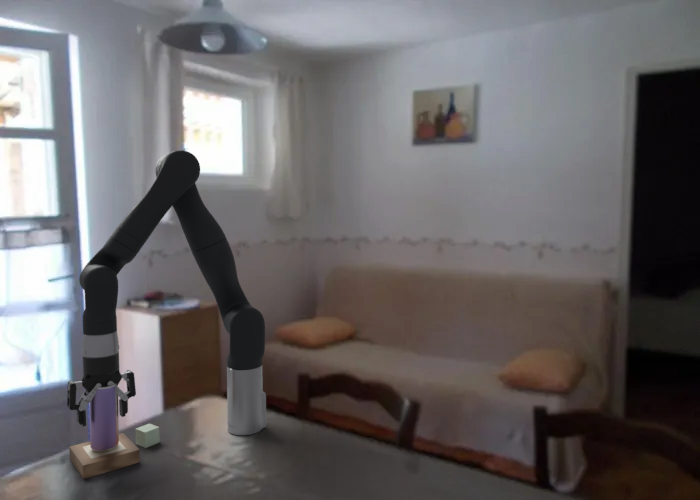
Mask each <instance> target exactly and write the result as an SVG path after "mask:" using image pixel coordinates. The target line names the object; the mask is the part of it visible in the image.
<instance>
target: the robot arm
mask: <svg viewBox="0 0 700 500" xmlns="http://www.w3.org/2000/svg"><path fill="white" fill-rule="evenodd" d="M154 170H155V172H154V173H155V176H156V177H155V180H154V182H153V183H152V184H151V186H150V188H149V189H148V191H147V192H146V193H145V195H144V196H143V197H142V198H141V199H140V200H139V202H138V203H137V204H136V205H135V206H133V208H132V209H131V210H130V211H129V212H128V213H127V214H126V216H125V217H124V218H123V219H122V221H121V222H119V224H118V225H117V226H116V228H115V229H114V230H113V232H112V233H111V235H110V236H109V238H108V239H107V241H106V242H105V244H104V245H103V246H102V247H101V248H100V249H99V250H98V251H97V252H96V254H94V255H93V256H92V258H91V259H90V260H89V261H88V262H87V263H86V265H85V266H84V267H83V269H82V270H81V272H80V274H79V279H78V280H79V285H80V287H81V289H82V290H83V291H84V306H85V308H84V310H83V313H82V341H81V342H82V343H81V344H82V348H81V349H82V374H83V376H82V379H81V380H78V381H73V380H69V381H68V382H67V389H66V390H67V396H66V398H67V399H66V406H67V407H68V408H69V410H70V411H76V417H77V418H76V421H77V423H78V424H79V425H80V426H81V427H82V428H84V427H86V426H87V416H86V415H87V412H86V411H87V410H86V407H87V405H88V404H90V401H91V400H92V398H93V397H94V396H95V393H96V391H98V388H99V387H101V386H106V385H108V386H112V385H115V384H116V383H117V386H118V385H119V384H120V382H121V381H122V379H123V381H124V382H126V391H125V392H124V391H122V389H120V387H119V386H118V387H117V386H116V385H115V386H116V388H117V395H118V413H119V416H120V417H121V418H123V417H126V414H128V412H129V403H128V402H129V401H128V400H129V399H130V398H132V397H134V398H135V396H136V395H137V393H136V392H137V391H136V381H135V379H136V378H135V373H134V372H133V371H131V370H130V369H127V370H126V371H125V372H121V371H120V344H119V336H118V319H117V304H118V298H119V279H118V276H117V275H118V274H119V273H120V272H121V271H122V270H123V268H124V266H125V265H128V264H129V263H131V262H132V261H133V259H135V258H136V256H137V255H138V253H139V252H140V251H141V250H142V248H143V247H144V245H145V244H146V243H147V241H148V239H150V237H151V236H152V234H153V232H154V231H155V229H156V227H157V226H158V225H159V223H160V222H161V221H162V219H163V218H164V217H165V215H166V214H167V213H168V212H169V210H170V209H171V208H173V210H174V212H175V213H176V216H177V218H178V221H179V224H180V227H181V229H182V231H183V234H184V237H185V239H186V241H187V244H188V246H189V249H190V251H191V254H192V256H193V257H194V260H195V262H196V264H197V266H198V269H200V272H201V275H202V276H203V278H204V280H205V282H206V283H207V284H206V285H208V287H209V289H210V290H211V292H212V294H213V296H214V298H215V302H216V305H217V308H218V311H219V314H220V317H221V320H222V324H223V326H224V329H225V331H226V332H227V334H229V353H228V355H227V356H226V389H227V391H226V397H227V398H226V399H227V401H226V402H227V405H226V406H227V431H228V433H230V434H231V435H235V436H250V435H253V434H257V433H259V432H261V430H263V429H264V428H266V427H267V394H266V392H265V391H264V390H263V389H264V388H263V386H264V385H263V384H264V381H263V378H264V377H263V359H264V356H265V352H266V351H265V349H266V346H265V345H266V321H265V318H264V315H263V314H262V312H261V311H260V310H259V309H257V308H255V307H254V306H252V305H251V303H250V302H249V300H248V298H247V296H246V295H245V292H244V291H243V289H242V286H241V284H240V282H239V278H238V273H237V271H238V270H237V267H236V266H237V265H236V260H235V256H234V254H233V250H232V249H231V246H230V244H229V241H228V238H227V236H226V234H225V233H224V231H223V229H222V227H221V226H220V224H219V223H218V221H217V220H216V219H215V217H214V216H213V214H212V213H211V212H210V210H209V209H208V208H207V206H206V205H205V203H204V202H203V200H202V198H201V195H200V192H199V189H198V186H197V184H196V182H197V181H198V179H199V177H200V175H201V174H200V173H201V166H200V162H199V160H198V159H197V157H196V156H195V155H194V154H193V153H192V152H189V151H187V150H177V149H176V150H173V151H170V152H168V153H166V154H164V155H162V156H161V157H160V158H159V159H158V160H157V162H156V164H155V169H154ZM81 387H83V388H84V391H83V393H82V394H81V396H80V398H79V400H78V401H77V392H79V390H80V388H81ZM119 398H120V399H119Z"/></svg>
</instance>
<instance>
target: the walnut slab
mask: <svg viewBox="0 0 700 500" xmlns="http://www.w3.org/2000/svg"><path fill="white" fill-rule="evenodd" d="M68 450H69V451H68V452H69V460H70V462H71V463H72V464H73V466H74V467H75V469H76V470H77V472H78V474H79V475H80V476H81V478H82V479H83V480H85V479H86V480H87V479H89V478H92V477H95V476H99V475H102V474H105V473H108V472H112V471H115V470H118V469H119V470H120V469H122V468H126V467H129V466H132V465H135V464H138V463H140V462H141V455H140V454H141V453H140V449H139V448H138V446H136V444H134V443H133V442H132V440H131V439H129V437H127V435H126V434H125V433H123V432H121V433H120V432H119V443H118V445H117V447H116V448H114V449H112V450H110V451H106V452H95V451H93V450H92V449H91V447H90V440H89V441H86V442H82V443H79V444H75V445H70V446H69V449H68Z"/></svg>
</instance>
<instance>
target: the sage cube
mask: <svg viewBox="0 0 700 500" xmlns="http://www.w3.org/2000/svg"><path fill="white" fill-rule="evenodd" d="M134 430H135V432H134V433H135V445H137V446H138V447H139V446H140V447H141V448H144V449H147V448H149V447H152V446H154V445H157V444H159V443H160V442H161V440H160V426H157V425H155V424H152V423H147V424H144V425H141V426H139V427H136V428H135V429H134Z"/></svg>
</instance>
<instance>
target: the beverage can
mask: <svg viewBox="0 0 700 500" xmlns="http://www.w3.org/2000/svg"><path fill="white" fill-rule="evenodd" d="M115 385H116V386H117V387H118V388H119V386H118V385H117V383H116V384H115ZM115 385H112V386H108V385H106V386H101V387H99V388H98V391H96V393H95V396H94V397H93V398H92V400H91V401H90V402H89V433H90V435H89V436H90V437H89V439H90V440H89V441H90V447H91V449H92V450H93V451H95V452H106V451H110V450H112V449H114V448H116V447H117V445H118V443H119V434H120V431H119V430H120V429H119V423H120V422H119V396H118V395H117V388H116V386H115Z"/></svg>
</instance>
